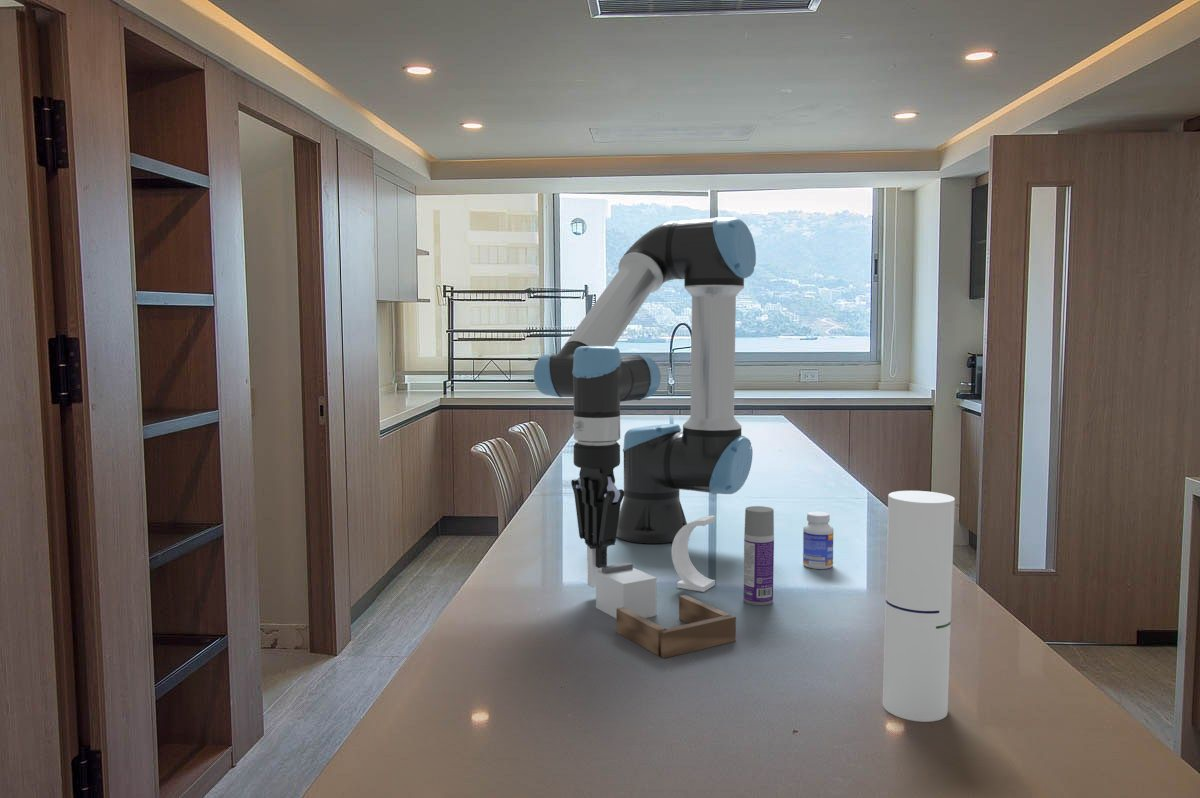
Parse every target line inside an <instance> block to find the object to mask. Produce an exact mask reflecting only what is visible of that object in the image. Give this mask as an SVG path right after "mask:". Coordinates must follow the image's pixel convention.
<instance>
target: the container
mask: <svg viewBox="0 0 1200 798" xmlns="http://www.w3.org/2000/svg"><path fill="white" fill-rule="evenodd" d="M744 511H745V513H744V514H745V515H744V536H743V537H744V538H743V602H744V603H746V604H749V605H753V606H768V605H771V604H772V603H774V568H775V567H774V560H775V559H774V557H775V556H774V555H775V554H774V553H775V528H774V527H775V523H774V522H775V521H774V520H775V519H774V517H775V516H774V513H775V511H774V508H772V507H770V506H762V505H753V506H752V505H751V506H746V507H745V510H744Z"/></svg>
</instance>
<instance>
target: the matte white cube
mask: <svg viewBox="0 0 1200 798" xmlns="http://www.w3.org/2000/svg"><path fill="white" fill-rule="evenodd" d="M657 580H658V579H657V577H656V576H653V575H651V574H649V573H647V572H645V571H642V570H639V569H637V568H634V564H633V563H631V562H623V563H618V564H613V565H612V564H611V565H607V566H605V567H602V570H600V571H596V587H595V594H596V595H595V608H596V609H597V610H600V611H602V612H603V613H605V614H606V615H609V616H611V617H613V618H614V619H616V609H617V608H622V607H624V608H626V609H628V610H630V611H632V612H634V613H636V614H638V615H640V616H642V617H644V618H646V619H648V618H651V617H656V616H657V610H658V609H657V607H658V605H657V603H658V602H657V601H658V599H657V597H658V596H657V594H658V593H657V590H658V589H657V587H658V585H657V584H658V583H657Z"/></svg>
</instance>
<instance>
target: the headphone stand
mask: <svg viewBox="0 0 1200 798" xmlns="http://www.w3.org/2000/svg"><path fill="white" fill-rule="evenodd" d="M713 522H716V515H705V516H703V517H699V518H696V519H695V520H693V521H691V522H688V523H687V524H686V525H685V526H683V527H682V528H681V529H680V530H679V531H678V532H677V534H676V536H675V538H674V540H673V542H672V545H671V560H672V564H673V567H674V570H675V571H676V573H677V575H678V577H679V578H680V579H681V580H679V581H677V582H676V588H678V589H684V590H689V591H694V592H695V591H696V592H701V593H702V592H703V593H704V592H707V591H708V590H709V589H711V588H713V587H714V586H715V585H716V580H715V579H711V578H708V577H706V576H705V575H703V574H702V573H700V571H698V570H697V569H696V567H695V566H694V564H693V563H692V561H691V558H690V555H689V549H688V548H689V547H688V545H689V539H690V536H691V534H692V533H693V531H694V529H695V528H696V527H700V526H701V527H705V526H707V525H710V524H711V523H713Z"/></svg>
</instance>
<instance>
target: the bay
mask: <svg viewBox="0 0 1200 798" xmlns="http://www.w3.org/2000/svg"><path fill="white" fill-rule="evenodd" d="M678 604H679V605H678V612H679V613H678V619H679V620H681V621H683V622H684V623H685V624H680V625H677V626H676V625H675V626H672V627H668V628H666V627H663V626H661V625H659V624H657V623H655V622H653V621H651V620H649V619H648V618H644V617H642V616H640V615H638V614H636V613H634V612H632V611H630V610H628V609H626V608H624V607H622V608H617V609H616V618H615V619H616V621H615V622H616V628H615V629H616V633H617V634H619V635H621V636H623V637H625V638H626V639H628V640H629V641H632V642H634V643H635V644H637V645H639V646H640V647H643V648H644V649H646V650H647V651H650V652H651V653H653V654H655V655H656V656H658V657H660V658H661V659H667V658H671V657H675V656H680V655H683V654H687V653H691V652H696V651H700V650H701V651H702V650H703V649H708V648H713V647H716V646H720V645H725V644H729V643H733V642H736V638H737V636H736V635H737V634H736V633H737V631H736V629H737V628H736V625H737V624H736V623H737V617H736V616H735V615H733V614H730V613H728V612H725V611H723V610H721V609H719V608H717V607H714V606H712V605H709V604H707V603H705V602H703V601H701V600H698V599H696V598H693V597H691V596H689V595H687V594H683V595H679V597H678Z"/></svg>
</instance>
